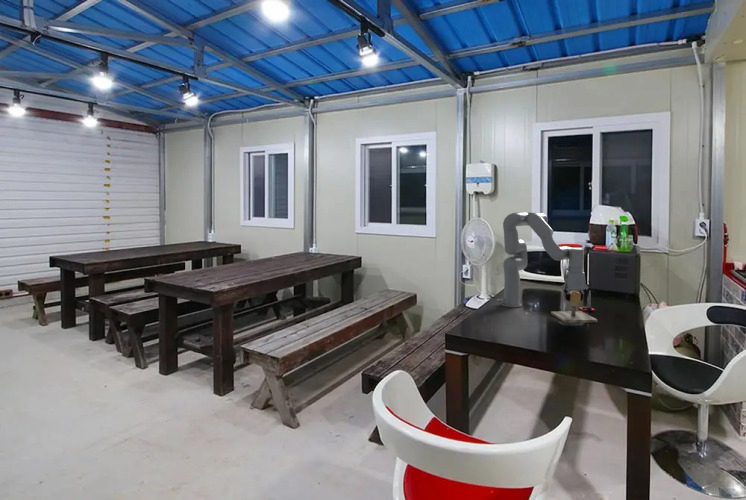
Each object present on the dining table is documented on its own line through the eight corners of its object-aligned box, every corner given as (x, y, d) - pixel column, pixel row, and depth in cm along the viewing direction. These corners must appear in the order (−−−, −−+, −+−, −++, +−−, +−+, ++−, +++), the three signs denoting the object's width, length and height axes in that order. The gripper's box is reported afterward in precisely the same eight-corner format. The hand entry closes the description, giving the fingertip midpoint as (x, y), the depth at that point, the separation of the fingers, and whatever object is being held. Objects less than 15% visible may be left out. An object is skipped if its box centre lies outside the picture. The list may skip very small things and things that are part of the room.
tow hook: (577, 308, 266) (582, 311, 256) (577, 288, 265) (582, 290, 255) (591, 308, 264) (596, 312, 255) (592, 288, 263) (597, 291, 254)
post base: (565, 322, 234) (565, 309, 233) (550, 314, 252) (551, 301, 251) (597, 322, 234) (598, 309, 233) (580, 313, 252) (581, 301, 251)
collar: (571, 302, 239) (571, 294, 238) (565, 300, 245) (566, 291, 244) (582, 302, 239) (583, 293, 238) (576, 299, 245) (577, 291, 244)
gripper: (563, 271, 236) (562, 302, 238) (594, 270, 236) (592, 301, 238) (557, 268, 243) (556, 299, 245) (587, 268, 244) (585, 298, 246)
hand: (574, 300), depth 242 cm, fingers closed on collar, 6 cm apart
